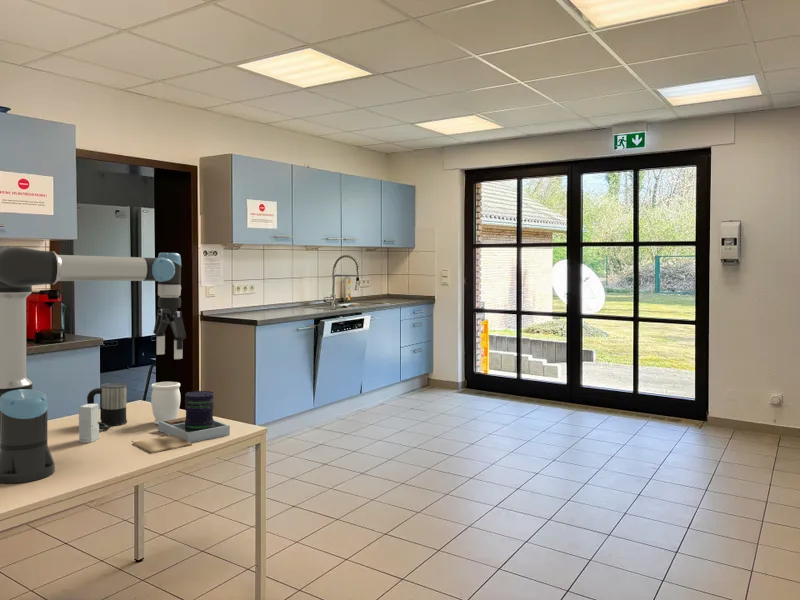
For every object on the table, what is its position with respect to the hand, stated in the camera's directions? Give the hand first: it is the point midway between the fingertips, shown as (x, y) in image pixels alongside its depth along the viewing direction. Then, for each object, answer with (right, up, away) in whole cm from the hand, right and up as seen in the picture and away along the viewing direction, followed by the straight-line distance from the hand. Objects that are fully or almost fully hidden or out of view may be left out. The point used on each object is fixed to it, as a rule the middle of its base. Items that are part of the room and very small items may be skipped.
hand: (169, 356), depth 220 cm
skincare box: (-25, -28, -8) cm, 38 cm away
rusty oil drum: (+10, -28, +2) cm, 30 cm away
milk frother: (-27, -27, +11) cm, 40 cm away
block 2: (+2, -28, +9) cm, 29 cm away
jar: (-8, -27, +18) cm, 33 cm away
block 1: (-1, -28, +6) cm, 28 cm away
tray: (+7, -28, +5) cm, 29 cm away
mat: (+2, -29, -11) cm, 31 cm away
